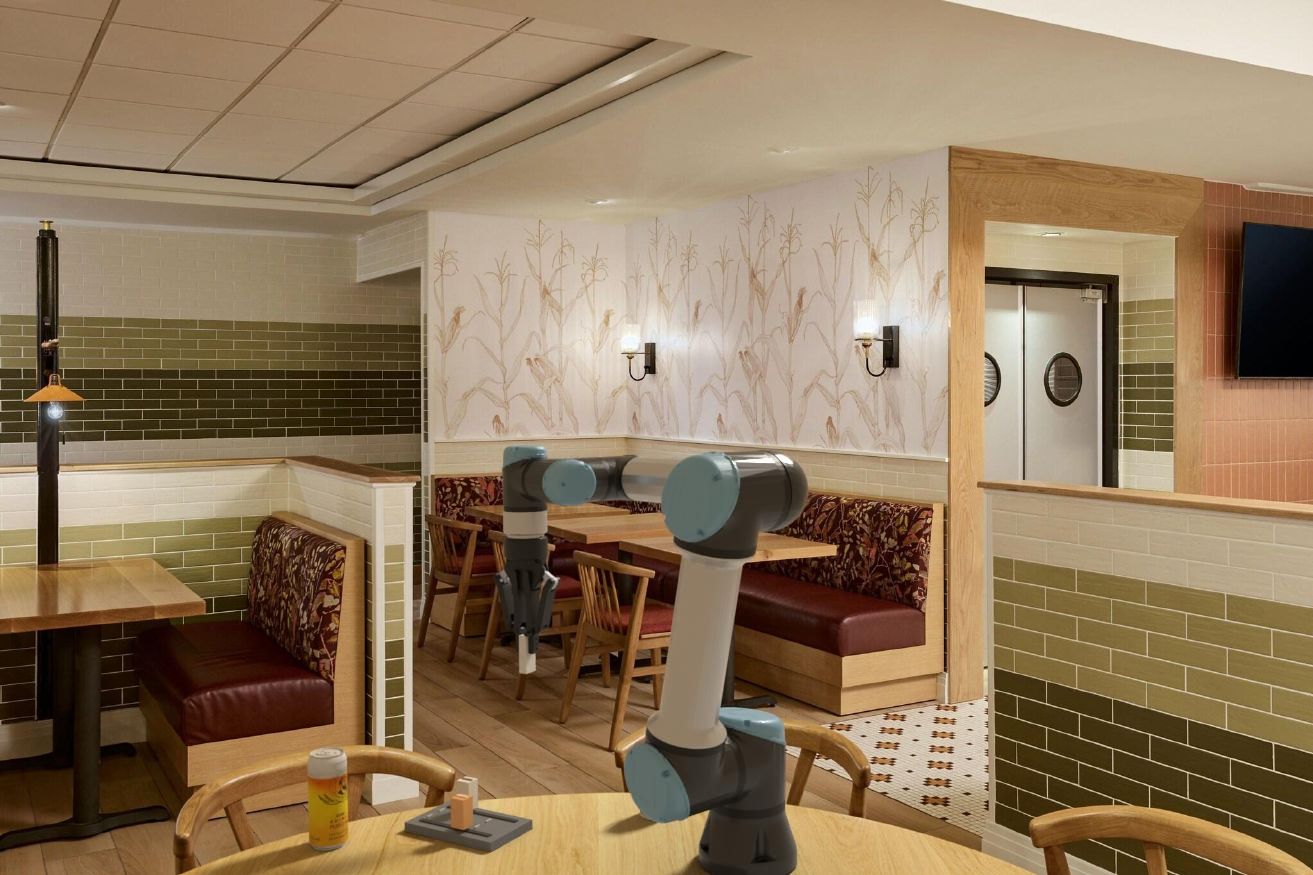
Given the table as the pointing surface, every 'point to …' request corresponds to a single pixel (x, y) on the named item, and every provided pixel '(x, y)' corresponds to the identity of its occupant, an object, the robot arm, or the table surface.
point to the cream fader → (468, 788)
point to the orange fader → (461, 811)
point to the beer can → (327, 798)
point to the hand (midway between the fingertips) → (527, 671)
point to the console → (483, 834)
